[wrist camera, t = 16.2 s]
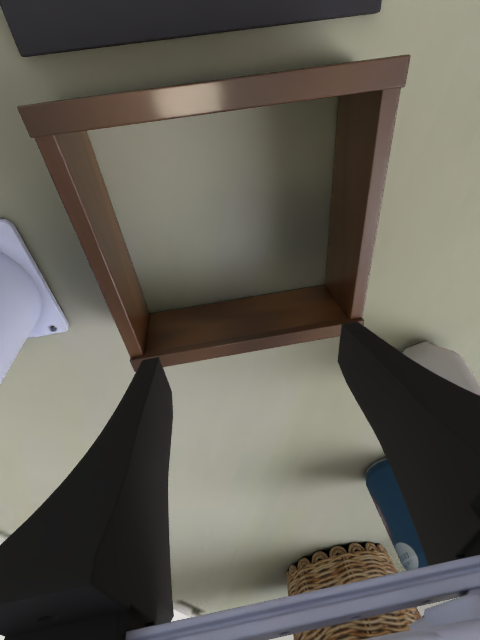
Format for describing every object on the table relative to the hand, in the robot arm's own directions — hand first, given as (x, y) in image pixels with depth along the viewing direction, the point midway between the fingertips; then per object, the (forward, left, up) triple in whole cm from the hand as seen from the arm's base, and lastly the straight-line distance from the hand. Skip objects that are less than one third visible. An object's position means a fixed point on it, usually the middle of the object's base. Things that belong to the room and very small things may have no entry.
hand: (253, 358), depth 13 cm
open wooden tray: (0, +2, -10) cm, 11 cm away
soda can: (+17, -35, -11) cm, 41 cm away
